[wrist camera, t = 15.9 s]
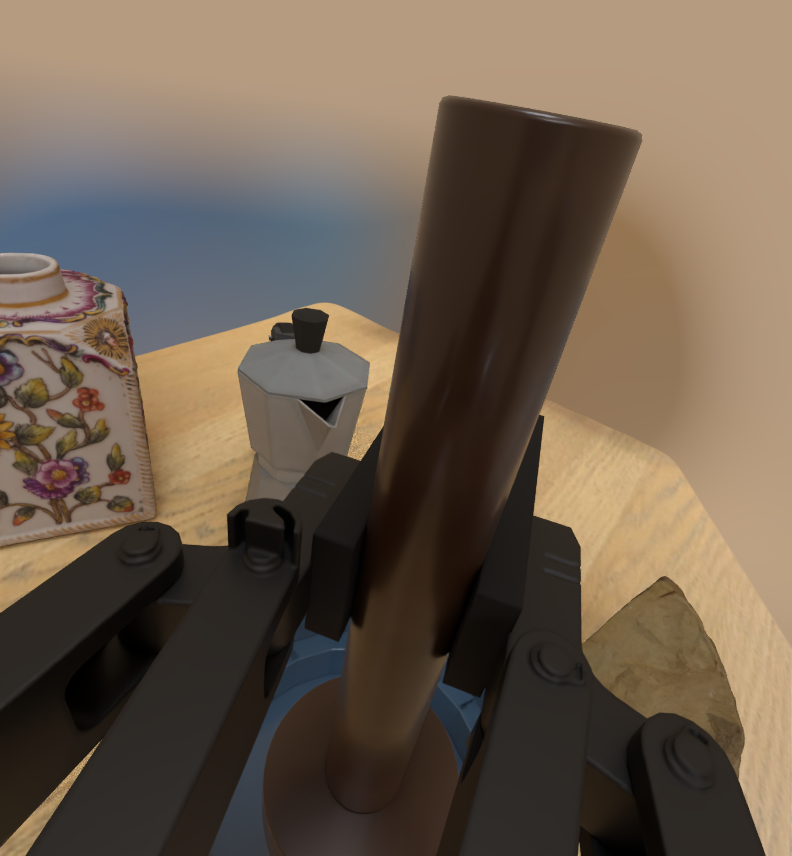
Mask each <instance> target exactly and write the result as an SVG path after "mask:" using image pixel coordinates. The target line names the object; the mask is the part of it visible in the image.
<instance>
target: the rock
mask: <svg viewBox="0 0 792 856" xmlns="http://www.w3.org/2000/svg"><path fill="white" fill-rule="evenodd" d="M582 649H583V654H584V655H585V657H586V659H587V661H588V663H589V665H590V667H591V669H592V672H593V674H594V675H595V677H596V678H597V679H598V680H599V681H600V682H601V684H602V685H603V686H604V687H605V688H606V689H608V690H609V691H610V692H611V693H612V694H614V695H615V696H616V697H617V698H619V699H620V700H622V701H623V702H625V703H626V704H628V705H629V706H630V707H632V708H633V709H635V710H636V711H638V712H639V713H641V714H642V715H643V716H645V717H646V718H649V717H651V716H653V715H655V714H657V713H659V712H661V713H675V714H678V715H680V716H682V717H684V718H687V719H689V720H691V721H693V722H695V723H696V724H697V725H698V726H700V727H701V728H702V729H704V730H705V731H706V732H708V733H709V734H710V735H711V736H712V737H713V738H714V740H715V741H716V742H717V743H718V744H719V745H720V747H721V748H722V749H723V750H724V751H725V753H726V755H727V757H728V759H729V760H730V762H731V764H732V766H733V768H734V770H735V772H736V775H737V777H738V778H739V766H740V762H741V754H742V751H743V748H744V742H745V737H744V730H743V727H742V724H741V721H740V718H739V715H738V711H737V707H736V700H735V697H734V695H733V693H732V691H731V688H730V685H729V682H728V679H727V674H726V671H725V669H724V666H723V664H722V662H721V660H720V657H719V655H718V652H717V649H716V647H715V645H714V643H713V641H712V639H711V638H709V637H708V635H707V634H706V632H705V630H704V627H703V623H702V621H701V619H700V618H699V616H698V614H697V613H696V611H695V610H694V609H693V607H692V606H691V604H690V603H689V602H688V601H687V599H686V597H685V595H684V593H683V591H682V590H681V589H680V588H679V586H678V585H677V584H676V583H674V582H673V581H672V580H671V579H670V578H668V577H666V576H664V577H661V578H659V579H658V580H657V581H656V582H655V583H654V584H652V585H651V586H650V587H649V588H647V589H646V590H645V591H643V592H642V593H640V594H639V595H637V596H636V597H635V598H633V599H632V600H631V601H630V602H629V603H628V604H626V605H625V606H624V607H623V608H622V609H621V610H620V611H618V612H617V613H616V614H615V615H614V616H613V617H611V618H610V619H609V620H608V621H607V622H606V624H605V625H604V626H602V627H601V628H600V629H599V630H598V631H597V632H595V633H594V634H593V635H592V636H591V637H590V638H588V639H587V640H586V641H585V642H584V643H583V644H582Z"/></svg>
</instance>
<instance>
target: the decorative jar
mask: <svg viewBox="0 0 792 856" xmlns="http://www.w3.org/2000/svg"><path fill="white" fill-rule="evenodd" d="M127 305H128V303H127V302H126V299H125V297H124V294H123V292H122V291H121V289H120V288H119V287H117V286H115V285H112V284H108V283H106V282H104V281H101V280H99V279H98V278H96V277H91V276H89V275H86V274H84V273H80V272H75V271H69V270H60V267H59V265H58V263H57V261H56V260H55V259H53V258H51V257H48V256H44V255H39V254H30V253H25V254H22V253H1V254H0V547H1V546H5V545H10V544H16V543H22V542H28V541H33V540H38V539H43V538H49V537H54V536H60V535H66V534H71V533H77V532H82V531H88V530H93V529H98V528H104V527H110V526H115V525H120V524H126V523H132V522H137V521H143V520H148V519H152V518H154V517H155V516H156V503H155V492H154V484H153V477H152V476H153V475H152V471H151V462H150V456H149V447H148V438H147V433H146V424H145V416H144V410H143V404H142V403H143V401H142V397H141V391H140V385H139V378H138V373H137V363H136V361H135V355H134V350H133V339H132V337H131V331H130V326H129V317H128V313H127Z"/></svg>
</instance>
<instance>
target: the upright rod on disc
mask: <svg viewBox="0 0 792 856" xmlns="http://www.w3.org/2000/svg"><path fill="white" fill-rule="evenodd" d="M641 143H642V134H641V133H639V132H638V131H637V130H634V129H629V128H625V127H621V126H616V125H612V124H607V123H601V122H597V121H592V120H587V119H582V118H577V117H572V116H566V115H561V114H556V113H551V112H545V111H540V110H534V109H529V108H523V107H517V106H512V105H506V104H501V103H495V102H489V101H483V100H477V99H471V98H464V97H458V96H446V97H443V98H442V100H441V102H440V103H439V109H438V115H437V121H436V126H435V132H434V138H433V144H432V149H431V155H430V161H429V167H428V173H427V178H426V185H425V191H424V196H423V202H422V208H421V213H420V220H419V225H418V231H417V237H416V243H415V248H414V254H413V260H412V266H411V271H410V277H409V283H408V289H407V295H406V300H405V307H404V312H403V318H402V324H401V330H400V335H399V341H398V347H397V353H396V359H395V364H394V370H393V376H392V382H391V388H390V393H389V399H388V405H387V411H386V417H385V422H384V428H383V434H382V440H381V446H380V452H379V457H378V463H377V469H376V475H375V481H374V486H373V492H372V498H371V504H370V510H369V515H368V521H367V527H366V533H365V539H364V545H363V550H362V556H361V562H360V568H359V574H358V579H357V585H356V591H355V597H354V603H353V608H352V614H351V620H350V626H349V632H348V637H347V643H346V649H345V655H344V661H343V667H342V672H341V677H337V678H334V679H331V680H328V681H326V682H324V683H322V684H320V685H318V686H316V687H315V688H313V689H312V690H310V691H309V692H307V693H306V694H305V695H304V696H303V697H301V698H300V699H299V700H298V701H297V702H296V703H295V704H294V705H293V706H292V707H291V708H290V710H289V711H288V712H287V714H286V715H285V716H284V718H283V719H282V721H281V723H280V724H279V726H278V728H277V730H276V732H275V734H274V736H273V738H272V741H271V743H270V746H269V750H268V753H267V756H266V761H265V767H264V773H263V797H262V816H263V829H264V835H265V840H266V844H267V847H268V851H269V854H270V856H436V854H437V851H438V847H439V844H440V841H441V837H442V834H443V830H444V827H445V824H446V820H447V817H448V813H449V810H450V807H451V803H452V800H453V796H454V793H455V789H456V786H457V783H458V779H459V773H458V765H457V761H456V756H455V752H454V749H453V746H452V743H451V740H450V738H449V736H448V734H447V732H446V730H445V727H444V726H443V724H442V723H441V721H440V719H439V718H438V716H437V715H436V714H435V712H434V711H433V710H432V708H431V707H430V704H431V701H432V699H433V696H434V693H435V691H436V688H437V685H438V683H439V680H440V677H441V675H442V672H443V669H444V667H445V664H446V661H447V659H448V656H449V653H450V650H451V647H452V644H453V642H454V639H455V636H456V634H457V631H458V628H459V626H460V623H461V620H462V618H463V615H464V612H465V610H466V607H467V604H468V602H469V599H470V596H471V594H472V591H473V588H474V586H475V583H476V580H477V578H478V575H479V572H480V570H481V567H482V564H483V562H484V560H485V558H486V555H487V552H488V550H489V547H490V544H491V542H492V539H493V536H494V534H495V531H496V528H497V526H498V523H499V520H500V518H501V515H502V512H503V510H504V507H505V504H506V502H507V499H508V496H509V494H510V491H511V489H512V486H513V483H514V481H515V478H516V475H517V473H518V470H519V467H520V465H521V462H522V459H523V457H524V454H525V451H526V449H527V446H528V443H529V441H530V438H531V435H532V433H533V430H534V427H535V425H536V422H537V419H538V417H539V414H540V411H541V409H542V406H543V403H544V401H545V398H546V395H547V393H548V390H549V387H550V385H551V382H552V379H553V377H554V374H555V371H556V369H557V366H558V363H559V361H560V358H561V355H562V353H563V350H564V347H565V345H566V342H567V339H568V336H569V334H570V331H571V329H572V326H573V324H574V321H575V318H576V316H577V313H578V310H579V308H580V305H581V302H582V300H583V297H584V294H585V291H586V289H587V286H588V283H589V281H590V278H591V276H592V273H593V270H594V268H595V265H596V262H597V260H598V257H599V254H600V251H601V249H602V246H603V244H604V241H605V238H606V236H607V233H608V230H609V228H610V225H611V222H612V220H613V217H614V214H615V212H616V209H617V206H618V204H619V201H620V198H621V196H622V193H623V190H624V188H625V185H626V182H627V180H628V177H629V174H630V172H631V169H632V166H633V164H634V161H635V158H636V156H637V153H638V150H639V148H640V145H641Z"/></svg>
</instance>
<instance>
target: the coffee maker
mask: <svg viewBox="0 0 792 856" xmlns="http://www.w3.org/2000/svg"><path fill="white" fill-rule="evenodd" d="M328 318H329V315H328V314H326V313H324V312H323V311H321V310H316V309H310V308H303V309H297V310H294V311H293V313H292V321H293V324H292V323H276V324H275V325H274V326H273V328H272V330H271V336H269V340H271V341H270V342H266V343H261V344H256V345H252V346H251V347H250V348H249V350H248V352H247V354H246V355H245V357H244V359H243V360H242V362H241V364H240V365H239V367H238V377H239V383H240V388H241V394H242V400H243V405H244V411H245V417H246V422H247V428H248V434H249V439H250V445H251V448H252V449H253V450H254V451H255V452H256V453H255V457H254V461H253V466H252V471H251V476H250V481H249V486H248V491H247V496H246V501H248V500H253V499H260V498H270V499H279V500H281V501H283V500H284V499H285V498H286V497H287V495H288V494H289V493H290V492H291V490H292V489H293V488H295V486H296V484H297V483H298V481H299V480H300V479H301V478H302V477H304V474H305V473H306V471H307V470H308V469H309V468H310V466H311V465H312V464H313V463H314V461H315V460H317V459H319V458H321V457H323V456H325V455H327V454H329V453H331V452H335V453H338V454H341V455H344V456H347V454H348V450H349V447H350V444H351V440H352V437H353V433H354V430H355V426H356V423H357V420H358V416H359V413H360V409H361V406H362V402H363V399H364V396H365V392H366V389H367V385H368V375H369V366H370V362H368V361H366V360H365V359H363V358H362V357H360V356H358V355H357V354H355V353H353V352H352V351H350V350H349V349H347V348H345V347H344V346H342V345H341V344H339V343H332V342H325V341H322V340H323V337H324V333H325V329H326V325H327V321H328ZM246 501H245V502H246Z"/></svg>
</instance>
